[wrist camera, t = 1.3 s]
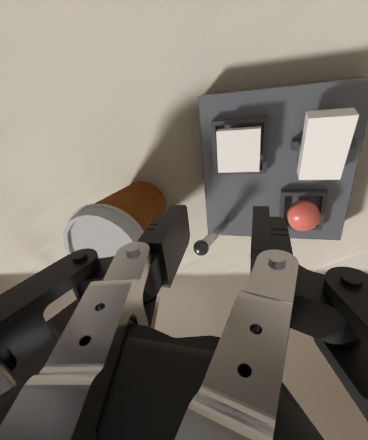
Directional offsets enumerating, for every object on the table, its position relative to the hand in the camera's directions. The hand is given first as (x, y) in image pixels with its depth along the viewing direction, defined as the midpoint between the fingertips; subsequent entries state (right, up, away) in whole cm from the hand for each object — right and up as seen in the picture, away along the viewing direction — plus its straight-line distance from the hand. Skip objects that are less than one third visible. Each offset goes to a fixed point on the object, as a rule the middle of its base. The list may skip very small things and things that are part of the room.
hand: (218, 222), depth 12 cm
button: (+11, +1, +14) cm, 18 cm away
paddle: (+4, +7, +13) cm, 15 cm away
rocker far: (+11, +7, +10) cm, 17 cm away
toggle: (+4, 0, +18) cm, 19 cm away
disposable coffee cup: (-7, +3, +24) cm, 25 cm away
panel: (+8, +7, +17) cm, 20 cm away
